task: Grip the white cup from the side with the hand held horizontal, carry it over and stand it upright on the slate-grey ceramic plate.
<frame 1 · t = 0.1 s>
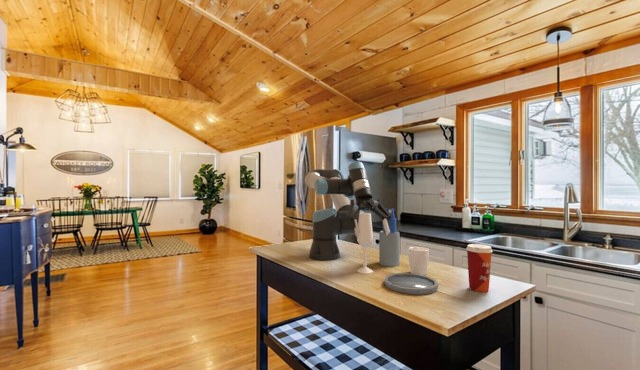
hand: (373, 234, 131), 15 cm above the countertop, tool tilted 35°, fingers open, 13 cm apart
champagne flute: (364, 271, 132), on the countertop
coffee cup: (478, 289, 110), on the countertop
spray bottle: (389, 264, 143), on the countertop
plate: (410, 285, 113), on the countertop
white cup: (418, 273, 129), on the countertop
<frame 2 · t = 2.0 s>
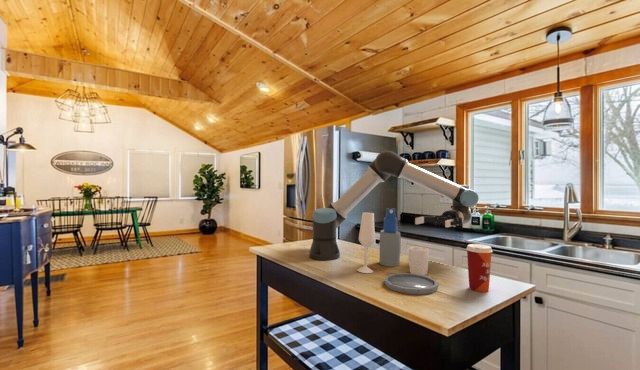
hand: (430, 222, 135), 20 cm above the countertop, tool horizontal, fingers open, 13 cm apart
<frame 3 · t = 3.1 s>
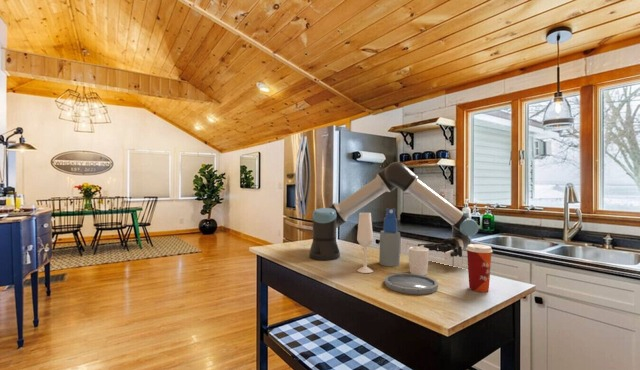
hand: (430, 253, 135), 7 cm above the countertop, tool horizontal, fingers open, 13 cm apart
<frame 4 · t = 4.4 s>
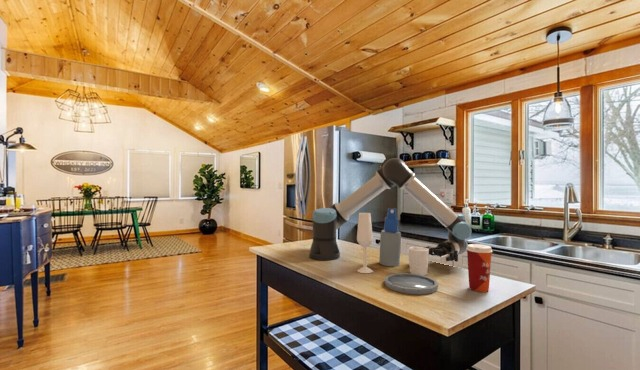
hand: (425, 257, 131), 6 cm above the countertop, tool horizontal, fingers open, 13 cm apart
nothing on the countertop moved.
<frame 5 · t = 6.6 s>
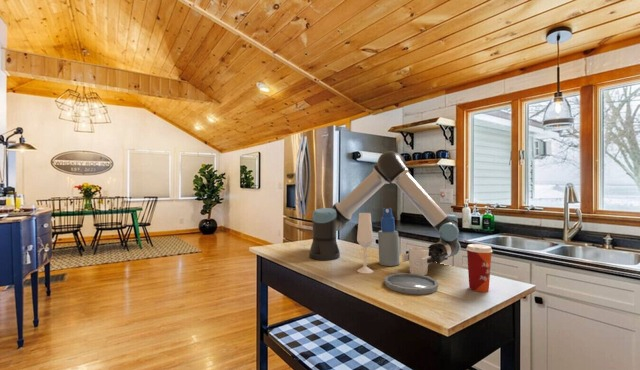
hand: (412, 260, 125), 6 cm above the countertop, tool horizontal, fingers closed on white cup, 8 cm apart
white cup: (418, 273, 129), on the countertop, touching gripper
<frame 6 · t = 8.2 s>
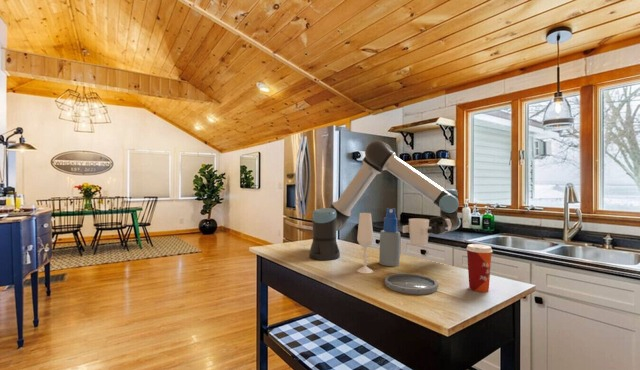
hand: (412, 230, 125), 18 cm above the countertop, tool horizontal, fingers closed on white cup, 8 cm apart
white cup: (418, 244, 128), point 12 cm above the countertop, touching gripper
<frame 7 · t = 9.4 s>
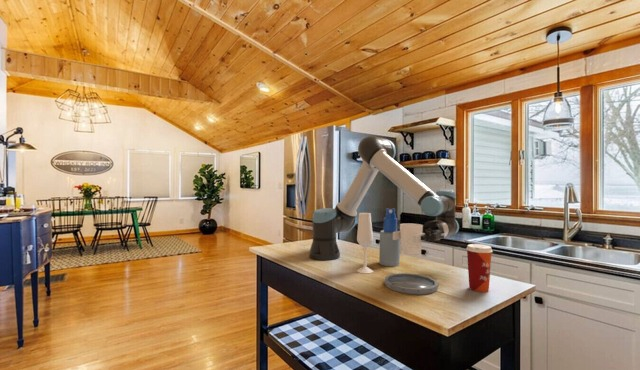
hand: (403, 237, 110), 18 cm above the countertop, tool horizontal, fingers closed on white cup, 8 cm apart
white cup: (411, 253, 113), point 12 cm above the countertop, touching gripper
everything else where it was.
when the fingers open (8 cm above the countertop, at t = 11.5 s): white cup drops 1 cm, resting on plate.
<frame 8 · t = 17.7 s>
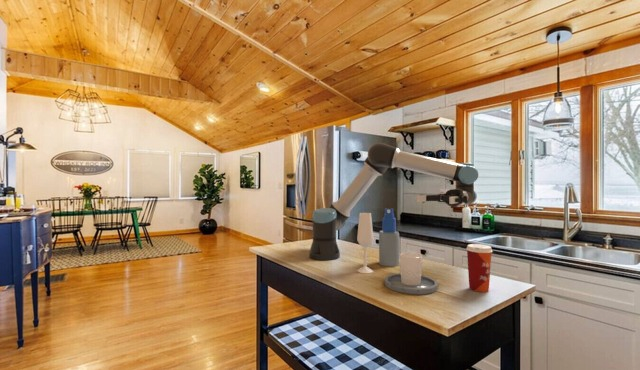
hand: (433, 199, 126), 30 cm above the countertop, tool horizontal, fingers open, 13 cm apart
white cup: (410, 283, 113), point 1 cm above the countertop, touching plate
everything else where it was.
at the end: white cup inside the target area on the plate (0.0 cm from its centre), point 0.8 cm above the plate's base; white cup tilted 0°; the gripper is holding nothing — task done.
